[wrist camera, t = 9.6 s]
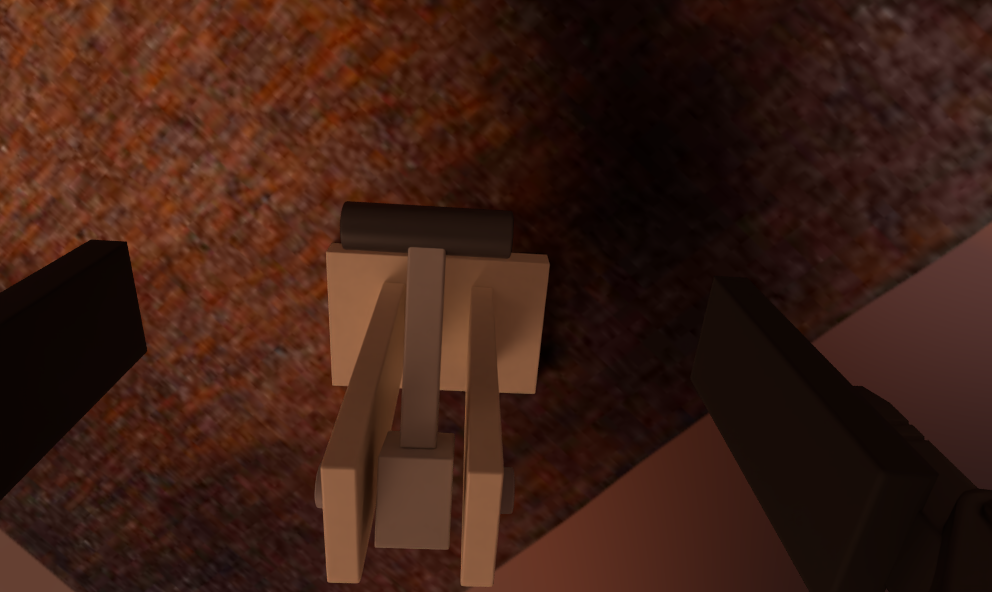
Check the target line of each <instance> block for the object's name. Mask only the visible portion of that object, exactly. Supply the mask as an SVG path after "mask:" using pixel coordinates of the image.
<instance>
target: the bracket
mask: <svg viewBox="0 0 992 592" xmlns="http://www.w3.org/2000/svg"><path fill="white" fill-rule="evenodd" d="M326 261H327V282H328V303H329V325H330V346H331V367H332V385H337V386H348V388H347V390H346V393H345V396H344V399H343V402H342V405H341V408H340V411H339V414H338V417H337V420H336V423H335V426H334V429H333V432H332V435H331V438H330V440H329V443H328V446H327V449H326V452H325V455H324V458H323V461H322V462H321V464H320V466H319V468H318V472H317V477H316V483H315V503H316V506H317V507H318V508H323V520H324V537H325V553H326V570H327V581H328V582H333V583H359V582H360V580H361V576H362V571H363V566H364V561H365V556H366V551H367V546H368V541H369V536H370V531H371V526H372V521H373V516H374V512H375V507H376V497H377V471H378V456H379V454H380V451H381V449H382V446H383V443H384V441H385V438H386V436H387V433H388V431H391V427H392V423H393V418H394V413H395V408H396V403H397V398H398V393H399V388H402V381H403V358H404V334H405V310H406V287H407V263H408V253H394V252H375V251H357V250H345V249H343V247H342V244H341V243H331V245H330V247H329V248H328V250H327V252H326ZM549 267H550V264H549V260H548V257H547V255H542V254H524V253H511V256H510V258H508V259H504V258H485V257H467V256H449V255H446V268H445V289H444V310H443V331H442V351H441V372H440V390H455V391H466V399H465V436H464V474H463V511H462V548H461V585H462V586H483V587H491V586H493V583H494V573H495V563H496V552H497V541H498V531H499V520H500V514H511V513H512V511H513V506H514V470H513V468H511V467H503V451H502V434H501V417H500V401H499V392H503V393H526V394H535V391H536V382H537V373H538V364H539V355H540V346H541V338H542V329H543V320H544V311H545V302H546V293H547V285H548V276H549Z"/></svg>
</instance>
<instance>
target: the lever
mask: <svg viewBox="0 0 992 592" xmlns="http://www.w3.org/2000/svg"><path fill="white" fill-rule="evenodd" d="M513 227H514V218H513V212H512V211H503V210H486V209H469V208H452V207H435V206H418V205H401V204H384V203H367V202H350V201H347V202H345V203H344V205H343V207H342V211H341V219H340V238H341V244H342V247H343V249H345V250H357V251H375V252H394V253H408V263H407V287H406V310H405V334H404V358H403V381H402V405H401V429H400V431H388V433H387V436H386V438H385V441H384V443H383V446H382V449H381V451H380V454H379V456H378V471H377V497H376V523H375V547H379V548H414V549H449V541H450V521H451V501H452V482H453V462H454V442H455V435H454V434H453V433H438V413H439V393H440V372H441V351H442V331H443V310H444V289H445V268H446V255H449V256H467V257H485V258H504V259H508V258H510V256H511V252H512V244H513Z"/></svg>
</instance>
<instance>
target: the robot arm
mask: <svg viewBox="0 0 992 592" xmlns="http://www.w3.org/2000/svg"><path fill="white" fill-rule="evenodd" d="M146 352H147V347H146V341H145V336H144V331H143V326H142V320H141V315H140V310H139V304H138V299H137V294H136V288H135V283H134V278H133V272H132V267H131V262H130V256H129V251H128V246H127V242H123V241H105V240H89V241H88V242H86V243H84V244H83V245H81V246H79V247H77V248H76V249H74V250H72V251H71V252H69V253H67V254H66V255H64V256H62V257H60V258H59V259H57V260H55V261H54V262H52V263H50V264H49V265H47V266H45V267H43V268H42V269H40V270H38V271H37V272H35V273H33V274H31V275H30V276H28V277H26V278H25V279H23V280H21V281H20V282H18V283H16V284H14V285H13V286H11V287H9V288H8V289H6V290H4V291H2V292H1V293H0V500H1V499H2V498H3V497H4V496H5V495H6V494H7V493H8V492H9V491H10V490H11V489H12V488H13V487H14V486H15V485H16V484H17V483H18V482H19V481H20V480H21V479H22V478H23V477H24V476H25V475H26V474H27V473H28V472H29V471H30V470H31V469H32V468H33V467H34V466H35V465H36V464H37V463H38V462H39V461H40V460H41V459H42V458H43V457H44V456H45V455H46V454H47V453H48V452H49V451H50V449H51V448H52V447H53V446H54V445H55V444H56V443H57V442H58V441H59V440H60V439H61V438H62V437H63V436H64V435H65V434H66V433H67V432H68V431H69V430H70V429H71V428H72V427H73V426H74V425H75V424H76V423H77V422H78V421H79V420H80V419H81V418H82V417H83V416H84V415H85V414H86V413H87V412H88V411H89V410H90V409H91V408H92V407H93V406H94V405H95V404H96V403H97V402H98V401H99V400H100V399H101V398H102V397H103V396H104V395H105V394H106V393H107V392H108V391H109V390H110V389H111V387H112V386H113V385H114V384H115V383H116V382H117V381H118V380H119V379H120V378H121V377H122V376H123V375H124V374H125V373H126V372H127V371H128V370H129V369H130V368H131V367H132V366H133V365H134V364H135V363H136V362H137V361H138V360H139V359H140V358H141V357H142V356H143V355H144V354H145V353H146ZM690 379H691V381H692V383H693V385H694V386H695V388H696V390H697V392H698V393H699V395H700V397H701V399H702V401H703V402H704V404H705V406H706V408H707V410H708V411H709V413H710V415H711V417H712V418H713V420H714V422H715V424H716V426H717V427H718V429H719V431H720V433H721V435H722V436H723V438H724V440H725V442H726V444H727V445H728V447H729V449H730V451H731V452H732V454H733V456H734V458H735V460H736V461H737V463H738V465H739V467H740V469H741V470H742V472H743V474H744V476H745V477H746V479H747V481H748V483H749V485H750V486H751V488H752V490H753V491H754V493H755V495H756V497H757V499H758V501H759V503H760V504H761V506H762V508H763V510H764V511H765V513H766V515H767V517H768V519H769V520H770V522H771V524H772V526H773V527H774V529H775V531H776V533H777V535H778V536H779V538H780V540H781V542H782V544H783V545H784V547H785V549H786V551H787V552H788V554H789V556H790V558H791V560H792V561H793V563H794V565H795V567H796V569H797V570H798V572H799V574H800V576H801V577H802V579H803V581H804V583H805V585H806V587H807V588H808V590H809V592H885V590H886V588H887V590H888V591H889V592H992V490H985V489H978V488H977V487H976V486H975V485H974V484H973V483H972V482H971V481H970V480H969V479H968V478H967V477H966V476H964V474H962V472H961V471H960V470H958V469H957V468H956V467H955V466H954V465H953V464H952V463H951V462H950V461H949V460H948V459H947V458H946V457H945V456H944V455H943V454H942V453H941V452H940V451H939V450H938V449H937V448H936V447H935V446H934V445H933V444H932V443H931V442H930V441H927V440H924V436H923V435H922V434H921V433H920V432H919V431H918V430H917V429H916V428H915V427H914V426H913V425H909V423H908V420H907V419H906V418H905V417H904V416H903V415H902V414H901V413H899V411H898V410H897V409H895V407H893V406H892V405H891V404H890V403H889V402H887V401H886V400H884V399H882V398H881V397H879V396H878V395H876V394H874V393H872V392H871V391H869V390H868V389H866V388H864V387H863V386H852V385H851V384H850V383H849V382H848V381H847V380H846V378H845V377H844V376H843V375H842V374H841V373H840V372H839V371H838V370H837V369H836V368H835V367H834V366H833V365H832V364H831V363H830V362H829V361H828V360H827V359H826V358H825V357H824V356H823V355H822V354H821V353H820V352H819V351H818V350H817V349H816V348H815V347H814V346H813V345H812V344H811V343H810V342H809V341H808V340H807V339H806V338H805V337H804V336H803V335H802V334H801V333H800V331H799V330H798V329H797V328H796V327H795V326H794V325H793V324H792V323H791V322H790V321H789V320H788V319H787V318H786V317H785V316H784V315H783V314H782V313H781V312H780V311H779V310H778V309H777V308H776V307H775V306H774V305H773V304H772V303H771V302H770V301H769V300H768V299H767V298H766V297H765V296H764V295H763V294H762V293H761V292H760V291H759V290H758V289H757V288H756V287H755V286H754V285H753V284H752V283H751V281H750V280H749V279H748V278H741V277H724V276H714V279H713V283H712V287H711V292H710V296H709V300H708V304H707V309H706V313H705V317H704V322H703V326H702V330H701V334H700V339H699V343H698V347H697V351H696V356H695V360H694V364H693V368H692V373H691V377H690Z"/></svg>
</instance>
